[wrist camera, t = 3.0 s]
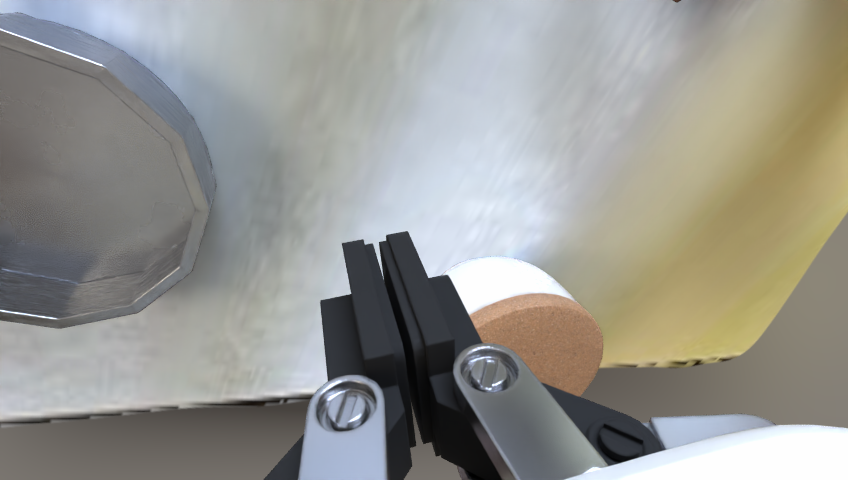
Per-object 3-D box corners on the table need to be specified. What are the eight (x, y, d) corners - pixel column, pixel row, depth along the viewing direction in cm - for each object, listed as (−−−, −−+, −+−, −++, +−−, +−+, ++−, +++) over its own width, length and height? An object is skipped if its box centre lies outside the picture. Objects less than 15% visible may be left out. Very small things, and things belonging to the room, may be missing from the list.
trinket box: (417, 219, 28) (469, 323, 20) (565, 235, 32) (656, 328, 24) (380, 351, 33) (410, 474, 25) (512, 351, 37) (573, 459, 29)
